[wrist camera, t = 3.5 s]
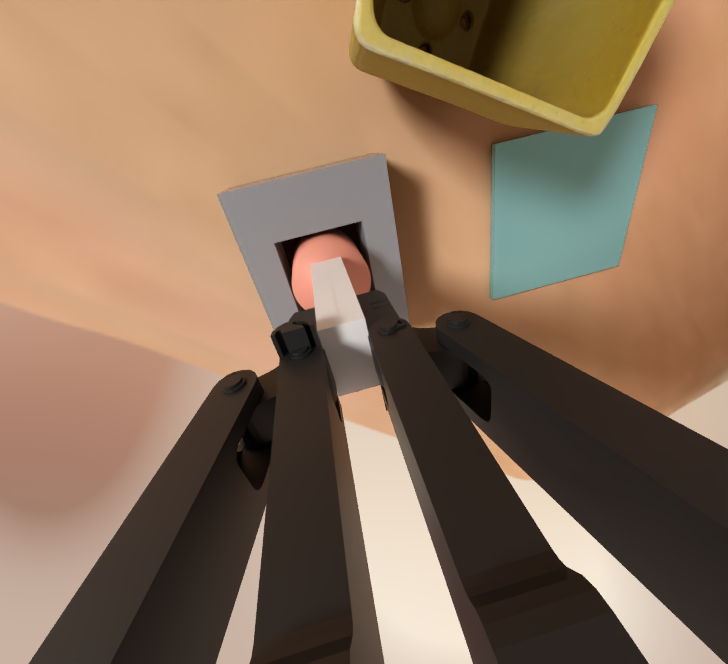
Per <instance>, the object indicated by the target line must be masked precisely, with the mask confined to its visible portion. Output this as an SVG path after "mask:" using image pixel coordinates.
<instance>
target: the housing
mask: <svg viewBox="0 0 728 664" xmlns="http://www.w3.org/2000/svg"><path fill="white" fill-rule="evenodd" d="M217 196H218V198H219V201H220V203H221V206H222V208H223V210H224V213H225V215H226V217H227V220H228V222H229V225H230V227H231V229H232V232H233V234H234V236H235V239H236V241H237V244H238V246H239V248H240V251H241V253H242V255H243V258H244V260H245V263H246V265H247V267H248V270H249V272H250V274H251V277H252V279H253V282H254V284H255V286H256V289H257V291H258V294H259V296H260V298H261V301H262V303H263V305H264V308H265V310H266V313H267V315H268V317H269V320H270V322H271V324H272V327H273V329H274V330H275V329H276V328H277V327H278V326H280V325H282V324H284V323H286V322H289V319H290V318H291V317H292V315H293V314H294V313H295V312H299V311H303V310H305V309H304V308H303V307H301V305H300V304H299V303H298V301H297V300H296V298H295V296H294V293H293V289H292V271H291V268H290V265H289V262H288V259H287V256H286V253H285V251H284V248H283V245H282V242H281V241H285V240H289V239H293V238H297V237H301V236H305V235H308V234H312V233H316V232H320V231H324V230H328V229H332V228H336V227H340V226H344V225H348V224H352V223H356V227H357V231H358V236H359V241H360V246H361V250H362V255H363V259H364V260H365V262H366V264H367V266H368V268H369V271H370V275H371V286H370V291H369V292H371V291H375V290H379V291H381V292H383V293H385V294H386V296H387V298H388V300H389V301H390V303H391V305H392V306H393V308H394V309H395V311H396V313H397V314H398V316H399V318H402V319H405V320H406V321H407V322H409V324H410V321H409V314H408V308H407V301H406V294H405V287H404V280H403V273H402V266H401V259H400V253H399V246H398V239H397V232H396V225H395V218H394V211H393V204H392V198H391V191H390V184H389V177H388V170H387V163H386V156H385V154H378V153H372V154H368V155H364V156H359V157H355V158H351V159H347V160H343V161H339V162H335V163H331V164H327V165H323V166H318V167H314V168H310V169H306V170H302V171H298V172H294V173H290V174H286V175H281V176H277V177H273V178H269V179H265V180H261V181H257V182H253V183H249V184H244V185H240V186H236V187H232V188H229V189H227V190H225V191H223V192H221V193H219V194H217Z"/></svg>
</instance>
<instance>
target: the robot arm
mask: <svg viewBox="0 0 728 664" xmlns="http://www.w3.org/2000/svg"><path fill="white" fill-rule="evenodd" d="M311 273H312V284H313V294H314V304H315V307H314V308H310V309H307V310H303V311H299V312H295V313H294V314H293V315H292V317H291V318H290V319H289V322H286V323H284V324H282V325H280V326H278V327H277V328H276V329H275V330H274V331H273V332H272V334H271V336H270V337H271V339H272V341H273V344H274V346H275V348H276V350H277V353H278V355H279V357H280V362H279V366H278V367H277V368H275V369H274V370H272V371H270V372H268V373H266V374H264V375H262V376H260V377H257V375H256V373H255V372H253V371H251V370H241V371H237V372H233V373H231V374H229V375H227V376H225V377H224V378H223V379H221V380H220V381H219V382H218V383H217V384H216V385H215V386H214V387H213V389H212V390H211V392H210V393H209V395H208V397H207V398H206V400H205V401H204V402H203V404H202V405H201V407H200V408H199V410H198V411H197V413H196V414H195V416H194V418H193V419H192V420H191V422H190V423H189V425H188V426H187V428H186V429H185V431H184V432H183V434H182V435H181V437H180V438H179V440H178V441H177V443H176V444H175V446H174V447H173V449H172V450H171V452H170V453H169V455H168V456H167V458H166V459H165V461H164V462H163V464H162V465H161V467H160V468H159V470H158V471H157V473H156V474H155V476H154V477H153V479H152V480H151V482H150V483H149V485H148V486H147V488H146V489H145V491H144V492H143V494H142V495H141V497H140V498H139V500H138V501H137V503H136V504H135V506H134V507H133V508H132V510H131V512H130V513H129V514H128V516H127V518H126V519H125V520H124V522H123V523H122V525H121V526H120V528H119V529H118V531H117V533H116V534H115V535H114V537H113V539H112V540H111V541H110V543H109V544H108V546H107V547H106V549H105V551H104V552H103V553H102V555H101V556H100V558H99V559H98V561H97V562H96V564H95V565H94V567H93V568H92V570H91V571H90V573H89V574H88V576H87V578H86V579H85V580H84V582H83V583H82V585H81V586H80V588H79V589H78V591H77V592H76V594H75V595H74V597H73V598H72V600H71V601H70V603H69V604H68V606H67V607H66V609H65V610H64V612H63V613H62V615H61V616H60V618H59V619H58V621H57V622H56V624H55V625H54V627H53V628H52V630H51V631H50V633H49V634H48V636H47V637H46V639H45V640H44V642H43V643H42V645H41V646H40V648H39V649H38V651H37V652H36V654H35V655H34V657H33V658H32V660H31V661H30V663H29V664H216V661H217V658H218V654H219V651H220V648H221V645H222V642H223V639H224V636H225V632H226V629H227V626H228V623H229V620H230V617H231V613H232V610H233V607H234V604H235V601H236V598H237V595H238V592H239V588H240V585H241V582H242V579H243V576H244V573H245V569H246V566H247V563H248V560H249V557H250V554H251V551H252V548H253V544H254V541H255V538H256V535H257V532H258V528H259V525H260V522H261V519H262V516H263V513H264V510H265V506H266V514H265V525H264V537H263V547H262V558H261V569H260V580H259V591H258V602H257V612H256V624H255V634H254V645H253V651H252V658H251V661H250V664H384V658H383V653H382V647H381V641H380V635H379V629H378V623H377V617H376V611H375V605H374V599H373V593H372V587H371V581H370V575H369V569H368V563H367V557H366V551H365V545H364V539H363V533H362V527H361V521H360V515H359V509H358V504H357V497H356V491H355V485H354V480H353V473H352V468H351V462H350V456H349V449H348V444H347V438H346V432H345V426H344V420H343V414H342V408H341V404H340V401H339V398H338V395H339V396H342V395H345V394H349V393H352V392H356V391H360V390H363V389H367V388H370V387H374V386H377V385H381V389H382V394H383V398H384V402H385V406H386V411H387V410H388V412H389V415H390V418H391V421H392V424H393V426H394V429H395V432H396V435H397V438H398V441H399V444H400V447H401V450H402V453H403V456H404V459H405V462H406V465H407V468H408V471H409V474H410V477H411V480H412V483H413V485H414V488H415V492H416V494H417V498H418V501H419V503H420V506H421V509H422V512H423V515H424V518H425V521H426V524H427V527H428V530H429V533H430V536H431V539H432V542H433V545H434V548H435V551H436V553H437V557H438V560H439V562H440V566H441V569H442V572H443V575H444V577H445V580H446V583H447V586H448V589H449V592H450V595H451V598H452V601H453V604H454V607H455V610H456V613H457V616H458V619H459V621H460V625H461V627H462V631H463V634H464V637H465V640H466V643H467V646H468V649H469V652H470V655H471V658H472V662H473V664H649V663H648V662H647V660H646V659H645V657H644V656H643V655H642V653H641V652H640V650H639V649H638V647H637V646H636V644H635V643H634V641H633V640H632V638H631V637H630V636H629V634H628V632H627V631H626V630H625V628H624V627H623V625H622V624H621V622H620V621H619V619H618V618H617V616H616V615H615V614H614V612H613V611H612V609H611V608H610V607H609V605H608V604H607V603H606V601H605V600H604V599H603V597H602V596H601V595H600V593H599V592H598V591H597V589H596V588H595V587H594V586H593V585H592V584H591V583H590V582H589V581H588V580H587V579H586V578H585V577H583V575H581V574H579V573H577V572H575V571H573V570H571V569H570V568H568V567H566V566H565V565H564V564H563V563H562V562H561V561H560V560H559V558H558V557H557V555H556V554H555V553H554V551H553V550H552V548H551V547H550V545H549V543H548V542H547V540H546V539H545V537H544V536H543V534H542V532H541V531H540V529H539V528H538V526H537V525H536V523H535V522H534V520H533V518H532V517H531V515H530V513H529V512H528V510H527V509H526V507H525V506H524V504H523V503H522V501H521V499H520V498H519V496H518V494H517V493H516V492H515V490H514V488H513V487H512V485H511V483H510V482H509V480H508V479H507V477H506V475H505V474H504V472H503V471H502V469H501V468H500V466H499V464H498V463H497V461H496V460H495V458H494V457H493V455H492V453H491V452H490V450H489V449H488V447H487V445H486V444H485V442H484V441H483V439H482V438H481V436H480V434H479V433H478V431H477V430H476V428H475V426H474V425H473V423H475V424H476V425H477V426H478V427H479V428H480V429H481V430H482V431H483V432H484V433H485V434H486V435H487V436H488V437H489V438H490V439H491V440H492V441H493V442H494V443H495V444H497V445H498V446H499V447H500V448H501V449H502V450H503V451H504V452H505V453H506V454H507V455H508V456H509V457H510V458H511V459H512V460H513V461H514V462H515V463H516V464H517V465H518V466H520V467H521V468H522V469H523V470H524V471H525V472H526V473H527V474H528V475H529V476H530V477H531V478H532V479H533V480H534V481H535V482H536V483H537V484H538V485H540V486H541V488H543V489H544V490H545V491H546V492H547V493H548V494H549V495H550V496H551V497H552V498H553V499H554V500H555V501H556V502H557V503H558V504H559V505H560V506H561V507H562V508H564V510H566V511H567V512H568V513H569V514H570V515H571V516H572V517H573V518H574V519H575V520H576V521H577V522H578V523H579V524H580V525H581V526H582V527H583V528H585V529H586V530H587V532H589V533H590V534H591V535H592V536H593V537H594V538H595V539H596V540H597V541H598V542H599V543H600V544H601V545H602V546H603V547H604V548H605V549H606V550H607V551H608V552H609V553H611V554H612V555H613V556H614V557H615V558H616V559H617V560H618V561H619V562H620V563H621V564H622V565H623V566H624V567H625V568H626V569H627V570H628V571H629V572H631V574H632V575H634V576H635V577H636V578H637V579H638V580H639V581H640V582H641V583H642V584H643V585H644V586H645V587H646V588H647V589H648V590H649V591H650V592H651V593H652V594H653V595H654V596H655V597H657V598H658V599H659V600H660V601H661V602H662V603H663V604H664V605H665V606H666V607H667V608H668V609H669V610H670V611H671V612H672V613H673V614H674V615H676V617H678V618H679V619H680V620H681V621H682V622H683V623H684V624H685V625H686V626H687V627H688V628H689V629H690V630H691V631H692V632H693V633H694V634H695V635H696V636H697V637H698V638H699V639H700V640H702V641H703V642H704V643H705V644H706V645H707V646H708V647H709V648H710V649H711V650H712V651H713V652H714V653H715V654H716V655H717V656H718V657H719V658H720V659H721V660H722V661H723V662H725V663H726V664H728V449H726V448H725V447H723V446H721V445H719V444H717V443H715V442H713V441H711V440H710V439H708V438H706V437H704V436H702V435H700V434H698V433H697V432H695V431H693V430H691V429H689V428H687V427H685V426H684V425H682V424H679V423H678V422H676V421H674V420H672V419H671V418H669V417H667V416H665V415H663V414H661V413H659V412H657V411H656V410H654V409H652V408H650V407H648V406H646V405H644V404H643V403H641V402H639V401H637V400H635V399H633V398H631V397H629V396H628V395H626V394H624V393H622V392H620V391H618V390H616V389H615V388H613V387H611V386H609V385H607V384H605V383H603V382H601V381H600V380H598V379H596V378H594V377H592V376H590V375H588V374H587V373H585V372H583V371H581V370H579V369H577V368H575V367H574V366H572V365H570V364H568V363H566V362H564V361H562V360H560V359H559V358H557V357H555V356H553V355H551V354H549V353H547V352H546V351H544V350H542V349H540V348H538V347H536V346H534V345H532V344H531V343H529V342H527V341H525V340H523V339H521V338H519V337H518V336H516V335H514V334H512V333H510V332H508V331H506V330H505V329H503V328H501V327H499V326H497V325H495V324H493V323H491V322H490V321H488V320H486V319H484V318H482V317H480V316H478V315H477V314H474V313H471V312H467V311H452V312H449V313H446V314H444V315H442V316H440V317H439V318H438V319H437V321H436V327H435V328H413V327H411V325H410V324H409V322H407V321H406V320H405V319H402V318H399V316H398V314H397V313H396V311H395V309H394V308H393V306H392V305H391V303H390V301H389V300H388V298H387V296H386V294H385V293H383V292H381V291H379V290H375V291H371V292H367V293H363V294H360V295H356V294H355V292H354V289H353V287H352V284H351V282H350V279H349V276H348V274H347V271H346V269H345V266H344V264H343V261H342V259H341V257H337V258H333V259H329V260H325V261H321V262H318V263H314V264H311ZM337 392H338V395H337ZM471 421H472V422H473V423H472V422H471ZM238 445H239V446H238Z"/></svg>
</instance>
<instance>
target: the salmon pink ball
mask: <svg viewBox="0 0 728 664" xmlns="http://www.w3.org/2000/svg"><path fill="white" fill-rule="evenodd" d="M337 257H341V259H342V261H343V264H344V266H345V269H346V271H347V274H348V276H349V279H350V282H351V284H352V287H353V289H354V292H355V294H356V295H360V294H363V293H367V292H369V291H370V286H371V275H370V271H369V268H368V266H367V264H366V262H365V260H364V259H363V257H362V255H361V254H360V252H359V250H358V249H357V247H356V245H355V244H354V242H353V240H352V239H351V238H350V237H349V236H348V235H347V234H346V233H344V232H343V231H341V230H339V229H336V228H332V229H328V230H324V231H320V232H316V233H312V234H308V235H305V236H302V237H301V238H300V240H299V241H298V243H297V244H296V247H295V250H294V254H293V268H292V289H293V293H294V296H295V298H296V300H297V301H298V303H299V304H300V305H301V307H303V308H304V309H305V310H307V309H310V308H314V307H315V304H314V294H313V284H312V273H311V264H314V263H318V262H321V261H325V260H329V259H333V258H337Z"/></svg>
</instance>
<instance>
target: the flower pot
mask: <svg viewBox="0 0 728 664" xmlns="http://www.w3.org/2000/svg"><path fill="white" fill-rule="evenodd" d="M674 1H675V0H408V1H407V2H402V1H401V0H357V1H356V5H355V10H354V17H353V25H352V31H351V38H350V45H349V55H350V59H351V62H352V63H353V65H354V66H355V67H356V68H357V69H359V70H360V71H362V72H365V73H368V74H370V75H373V76H376V77H379V78H382V79H384V80H387V81H390V82H393V83H396V84H399V85H401V86H404V87H407V88H410V89H412V90H415V91H418V92H421V93H423V94H426V95H429V96H431V97H434V98H437V99H440V100H442V101H445V102H448V103H450V104H453V105H455V106H458V107H460V108H463V109H465V110H468V111H470V112H473V113H475V114H478V115H480V116H483V117H485V118H488V119H490V120H492V121H495V122H498V123H501V124H505V125H509V126H514V127H522V128H529V129H536V130H543V131H551V132H559V133H566V134H573V135H581V136H598V135H600V134H601V133H602V132H603V130H604V129H605V128H606V126H607V125H608V123H609V122H610V120H611V119H612V117H613V115H614V114H615V112H616V110H617V109H618V107H619V105H620V103H621V101H622V99H623V97H624V96H625V94H626V92H627V90H628V89H629V87H630V85H631V83H632V82H633V80H634V78H635V76H636V74H637V72H638V70H639V69H640V67H641V65H642V63H643V61H644V59H645V57H646V55H647V53H648V52H649V50H650V48H651V46H652V44H653V42H654V40H655V38H656V36H657V34H658V32H659V30H660V28H661V26H662V24H663V22H664V20H665V19H666V17H667V15H668V13H669V11H670V9H671V7H672V5H673V3H674ZM466 14H467V15H469V16H470V19H471V25H470V27H469V28H468V29H467V30H463V29H462V28H461V18H462V16H463V15H466ZM423 44H426V45H427V46H428V47H429V53H427V52H424V51H422V50H420V47H421V46H422V45H423Z"/></svg>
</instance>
